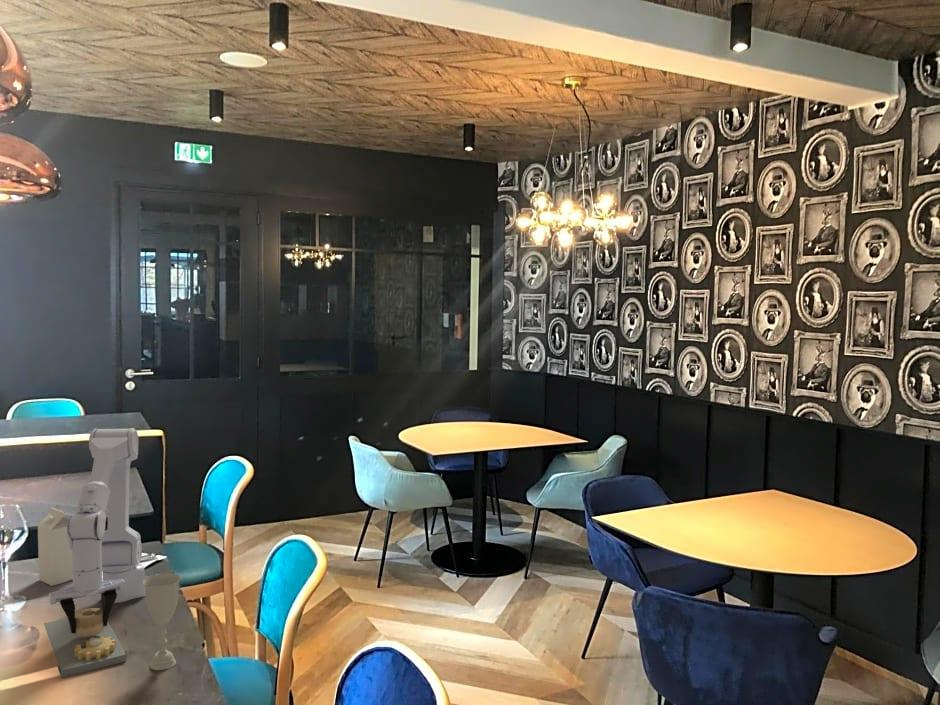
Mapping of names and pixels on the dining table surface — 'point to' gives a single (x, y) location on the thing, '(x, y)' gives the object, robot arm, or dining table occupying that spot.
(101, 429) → the robot arm
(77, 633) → the wooden ring spacer
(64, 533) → the milk carton
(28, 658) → the dining table surface
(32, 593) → the dining table surface
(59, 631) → the gear board
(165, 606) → the chalice
